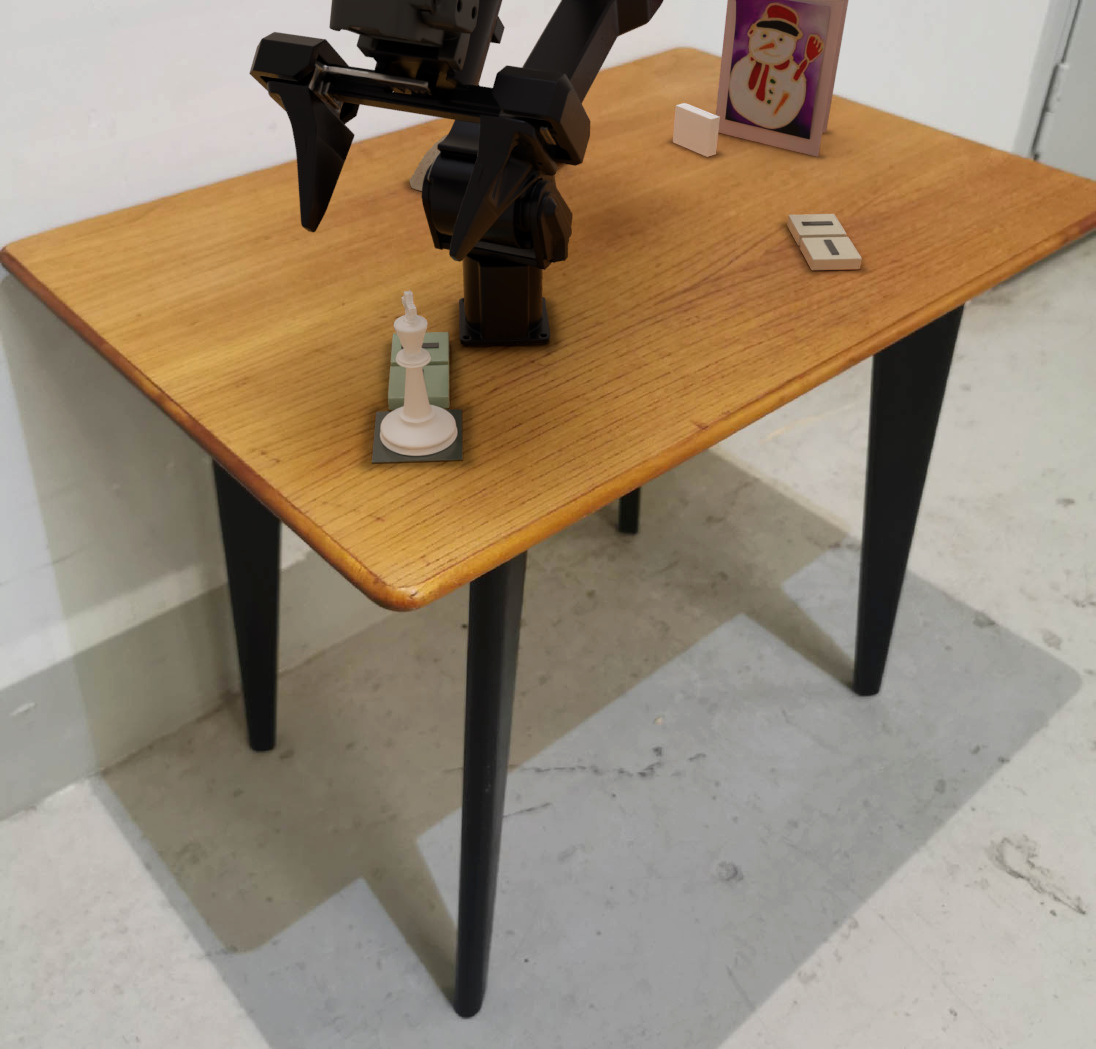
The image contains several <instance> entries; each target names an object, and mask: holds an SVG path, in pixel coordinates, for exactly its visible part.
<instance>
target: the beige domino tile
mask: <svg viewBox="0 0 1096 1049" xmlns="http://www.w3.org/2000/svg"><path fill="white" fill-rule="evenodd" d="M787 217H788V218H787V222H786V227H787V229H788V230H789V232H790V234H791V235H792V238H793V240H794V241H795V243H796V245H797V246H798V247H799V250H800V252H801V254H802V256H803V257H804V259H805V261H806V263H807V265H808V266H809V268H810V270H811V271H841V270H843V271H845V270H860V269H861V265H862V261H863V258H862V256H861V254H860V253H859V251H858V250H857V248H856V247H855V245H854V243H853V241H852V240H851V239H850V237H849V236H847V235H848V234H847V232H846V230H845V229H844V227H843V226H842V224H841V222H840V220H839V219H838V217H837V216H836V215H835V213H808V214H807V213H806V214H803V213H802V214H788V215H787Z"/></svg>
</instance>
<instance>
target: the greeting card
mask: <svg viewBox="0 0 1096 1049" xmlns="http://www.w3.org/2000/svg"><path fill="white" fill-rule="evenodd" d="M848 5H849V0H727V2H726V12H725V21H724V31H723V40H722V41H723V42H722V50H721V58H720V59H721V60H720V68H719V79H718V87H717V88H718V89H717V99H716V106H715V107H716V109H715V115H717V116H719V117H720V121H719V131H718V134H723V135H726V136H730V137H735V138H740V139H742V140H747V141H752V142H755V143H760V144H764V145H767V146H771V147H776V148H780V149H785V150H788V151H792V152H797V153H801V154H804V155H808V156H813V157H817V158H818V157H819V155H820V150H821V143H822V136H823V133H827V131H828V125H829V118H830V112H831V108H832V107H831V106H832V101H833V95H834V89H835V82H836V76H837V70H838V65H839V59H840V53H841V47H842V41H843V36H844V29H845V23H846V18H847V11H848Z"/></svg>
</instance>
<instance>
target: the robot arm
mask: <svg viewBox="0 0 1096 1049" xmlns="http://www.w3.org/2000/svg"><path fill="white" fill-rule="evenodd" d="M664 1H665V0H560V2H559V3H558V5H557V7H556V8H555V10H554V12H553V13H552V15H551V17H550V19H549V21H548V22H547V24H546V26H545V27H544V29H543V31H542V33H541V34H540V36H539V38H538V39H537V41H536V42H535V45H534V46H533V48H532V49H531V52H530V53H529V54H528V56H527V58H526V60H525V62H524V63H523V65H522V66H521V67H520V66H514V65H505V66H504V67H502V69H500V70H499V71H498V72H496V75H495V78H494V81H493V85H492V87H490V86H482V85H480V83H481V82H480V81H481V77H482V74H483V71H484V67H485V63H486V61H487V57H488V54H489V49H490V46H491V44H499V45H501V42H502V38H503V35H504V31H505V29H506V28H505V25H504V24H503V21H502V20H501V18H500V16H499V14H500V11H501V10H500V9H501V8H502V4H503V0H331V6H330V16H329V25H328V26H329V29H330V30H332V31H335V32H341V31H348V32H350V33H353V34H356V35H358V39H357V42H356V47H357V48H358V49H359V51H360V52H361V53H362V55H363V56H364V57H365V58H371V59H373V60H374V61H375V67H374V69H369V68H364V67H357V66H350V65H349V64H348V63H347V62H346V61H345V59H344V58H343V57H342V56H341V55H340V54H339V52H338V51H336V49H335V48H334V47H333V46H332V45H331V43H330V42H329V41H328V39H326V38H320V37H313V36H307V35H306V36H305V35H299V34H291V33H285V32H277V31H273V32H271V33H270V34H268V35H266V36H264V37H263V38H261V39H260V41H259V42H258V44H257V46H256V49H255V52H254V56H253V59H252V63H251V67H250V70H249V75H250V76H251V78H253V79H254V80H255V81H256V82H257V83H258V84H259V85H261V87H263V88H264V90H266V91H267V93H268V96H269V97H270V98H271V99H272V100H273V101H274V102H275V103H276V104H277V105H278V106H279V107H280V108H282V110H284V112H286V114H287V117H288V119H289V123H290V126H291V130H292V131H291V132H292V136H293V142H294V147H295V155H296V156H295V157H296V170H297V182H298V184H297V185H298V199H299V201H298V202H299V214H300V224H301V227H302V228H303V229H304V230H306V231H307V232H308V233H315V232H317V230H318V228H319V226H320V224H321V222H322V220H323V219H324V216H325V215H326V213H327V211H328V208H329V206H330V202H331V200H332V197H333V194H334V191H335V189H336V186H337V184H338V181H339V179H340V175H341V173H342V171H343V168H344V165H345V163H346V160H347V157H348V156H349V153H350V149H351V146H352V144H353V142H354V138H355V133H354V132H353V131H352V130H351V129H350V128H349V127H348V126H347V125H346V124H348V123H349V122H350V121H351V120H354V118H356V117H357V115H358V112H359V109H360V106H366V107H373V108H379V109H385V110H391V111H397V112H402V113H403V112H404V113H411V114H416V115H423V116H429V117H436V118H440V119H447V120H454V121H453V123H452V126H451V128H450V129H449V132H448V133H447V134H446V135H447V136H446V138H445V139H444V140H443V141H441V142H440V143H439V144H438V145H437V149H438V150H439V151H440V153H439V154H438V155H437V157H436V158H435V160H434V162H433V163H432V164H431V165H430V166H429V168H428V169H427V171H426V174H425V177H424V180H423V185H422V191H421V203H422V207H423V211H424V214H425V218H426V221H427V225H428V228H429V232H430V236H431V240H432V243H433V247H434V249H436V250H441V251H443V250H447V251H448V255H449V258H451V259H452V260H453V261H454V262H459V263H460V262H462V283H463V284H462V285H463V286H462V288H463V297H460V299H459V300H458V312H459V313H458V315H459V316H458V318H459V319H458V320H459V322H458V326H459V344H460V345H461V346H464V347H480V346H482V347H483V346H518V345H522V346H524V345H547V344H549V343H550V342H551V331H550V330H551V329H550V324H549V316H548V308H547V302H546V297H545V296H544V295H543V287H544V286H543V285H544V284H543V282H544V281H543V279H544V278H543V275H544V274H543V273H544V272H543V271H546V270H547V269H548V268H549V267H550V265H552V264H556V263H559V262H565V261H566V260H567V259H568V258H569V244H570V239H571V237H572V234H573V228H572V224H573V212H572V210H571V208H570V207H569V205H568V204H567V202H566V201H565V199H564V196H562V194H561V192H560V191H559V189H558V188H557V181H556V174H557V173H558V170H559V164H562V165H567V166H568V165H570V166H575V167H576V166H579V165H581V164H583V162H584V160H585V155H586V152H587V148H588V144H589V141H590V138H591V119H590V118H589V116H588V114H587V112H586V109H585V107H584V106H583V102H584V101H585V99H586V97H587V95H588V93H589V91H590V89H591V88H592V85H593V83H594V82H595V80H596V78H597V76H598V74H599V72H600V71H601V69H602V67H603V65H604V63H605V62H606V59H607V57H608V55H609V53H610V51H611V50H612V48H613V46H614V44H615V42H616V40H617V39H618V38H619V37H620V36H622V35H625V34H627V33H629V32H631V31H632V32H633V31H634V30H636V29H638V28H641V27H643V26H646V25H647V24H649V23H650V21H651V20H652V19H653V17H654V16H655V15H656V13H657V12H658V10H659V9H660V7H661V6H662V4H663V3H664Z"/></svg>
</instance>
